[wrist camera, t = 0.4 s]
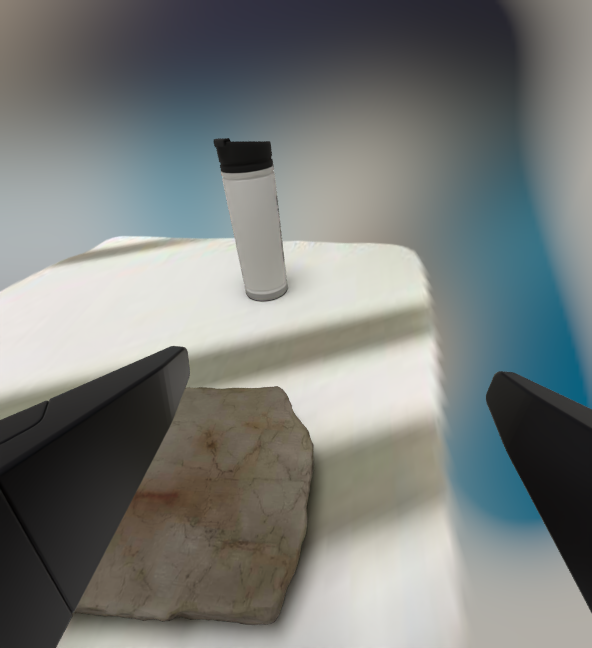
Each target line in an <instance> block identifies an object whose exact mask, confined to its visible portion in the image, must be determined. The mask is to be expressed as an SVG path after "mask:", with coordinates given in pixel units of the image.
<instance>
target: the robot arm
mask: <svg viewBox="0 0 592 648" xmlns="http://www.w3.org/2000/svg"><path fill="white" fill-rule="evenodd" d="M189 376H190V367H189V359H188V352H187V349H186V348H185V347H179V346H171V347H168V348H166V349H164V350H162V351H159V352H157V353H155V354H152V355H150V356H148V357H145V358H143V359H141V360H139V361H136V362H134V363H132V364H129V365H127V366H125V367H122V368H120V369H118V370H116V371H113V372H111V373H109V374H106V375H104V376H102V377H99V378H97V379H95V380H93V381H90V382H88V383H86V384H83V385H81V386H79V387H76V388H74V389H72V390H70V391H67V392H65V393H63V394H60V395H58V396H56V397H53V398H51V399H50V400H49V401H44V402H42V403H39V404H37V405H35V406H33V407H30V408H28V409H26V410H23V411H21V412H18V413H16V414H14V415H11V416H9V417H7V418H4V419H2V420H0V648H56V647H57V645H58V643H59V641H60V639H61V637H62V635H63V633H64V631H65V629H66V627H67V626H68V624H69V622H70V620H71V618H72V613H73V612H74V611H75V610H76V608H77V606H78V604H79V602H80V600H81V598H82V596H83V594H84V592H85V590H86V588H87V586H88V584H89V582H90V580H91V579H92V577H93V575H94V573H95V571H96V569H97V567H98V565H99V563H100V561H101V559H102V557H103V555H104V553H105V551H106V550H107V548H108V546H109V544H110V542H111V540H112V538H113V536H114V534H115V532H116V530H117V528H118V526H119V524H120V522H121V521H122V519H123V517H124V515H125V513H126V511H127V509H128V507H129V505H130V503H131V501H132V499H133V497H134V495H135V493H136V492H137V490H138V488H139V486H140V484H141V482H142V480H143V478H144V476H145V474H146V472H147V470H148V468H149V466H150V464H151V462H152V461H153V459H154V457H155V455H156V453H157V451H158V449H159V447H160V445H161V443H162V441H163V439H164V437H165V435H166V433H167V432H168V430H169V428H170V425H171V423H172V421H173V419H174V416H175V414H176V411H177V409H178V406H179V403H180V401H181V398H182V395H183V393H184V390H185V387H186V385H187V382H188V379H189ZM486 402H487V405H488V407H489V410H490V412H491V415H492V417H493V419H494V422H495V425H496V427H497V430H498V432H499V435H500V437H501V440H502V442H503V444H504V447H505V449H506V451H507V453H508V455H509V457H510V459H511V461H512V463H513V465H514V467H515V469H516V471H517V472H518V474H519V476H520V478H521V480H522V482H523V484H524V486H525V488H526V489H527V491H528V493H529V495H530V497H531V499H532V501H533V503H534V504H535V506H536V508H537V510H538V512H539V514H540V516H541V518H542V520H543V522H544V524H545V525H546V527H547V529H548V531H549V533H550V535H551V537H552V539H553V541H554V543H555V544H556V546H557V548H558V550H559V552H560V554H561V556H562V558H563V559H564V561H565V563H566V565H567V567H568V569H569V571H570V573H571V575H572V577H573V579H574V580H575V582H576V584H577V586H578V588H579V590H580V592H581V594H582V596H583V597H584V599H585V601H586V603H587V605H588V607H589V609H590V611H591V613H592V409H590V408H587V407H585V406H583V405H581V404H579V403H577V402H575V401H573V400H570V399H568V398H566V397H564V396H562V395H560V394H558V393H556V392H554V391H552V390H550V389H547V388H545V387H543V386H541V385H539V384H537V383H534V382H533V381H530V380H528V379H526V378H524V377H522V376H520V375H518V374H516V373H513V372H502V371H501V372H497V373H496V374H495V375H494V377H493V380H492V382H491V384H490V387H489V389H488V391H487V394H486Z"/></svg>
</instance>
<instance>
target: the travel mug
mask: <svg viewBox="0 0 592 648" xmlns="http://www.w3.org/2000/svg"><path fill="white" fill-rule="evenodd" d="M214 146H215V147H216V149H217V154H218V158H219V162H220V163H221V165H220V168H221V175H222V176H223V185H224V189H225V194H226V199H227V204H228V209H229V213H230V218H231V223H232V228H233V233H234V237H235V242H236V247H237V252H238V257H239V261H240V266H241V271H242V276H243V280H244V284H245V290H246V294H247V295H248V296H249V297H250V298H251V299H254V300H259V301H267V300H272V299H276V298H278V297H280V296H282V295H283V294H284V293H285V292H286V290H287V279H286V270H285V261H284V252H283V243H282V235H281V226H280V217H279V209H278V200H277V191H276V182H275V174H274V172H273V170H274V166H273V161H272V159H271V156H272V152H271V144H270V142H269V141H266V142H231V141H230V139H229V138H227V139H214Z"/></svg>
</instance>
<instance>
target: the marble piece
mask: <svg viewBox="0 0 592 648" xmlns="http://www.w3.org/2000/svg"><path fill="white" fill-rule="evenodd" d="M313 470H314V464H313V443H312V441H311V439H310V435H309V431H308V430H307V428H306V427H305V426H304V425H303V424H302V422H301V421H300V420H299V419H298V417H297V416H296V415H295V413H294V412H293V409H292V405H291V403H290V401H289V398H288V396H287V394H286V393H285V392H284V390H283V389H281V388H280V387H278V386H275V387H263V388H227V389H215V388H203V387H199V388H190V387H189V388H185V390H184V393H183V395H182V398H181V401H180V403H179V406H178V409H177V411H176V414H175V416H174V419H173V421H172V423H171V425H170V428H169V430H168V432H167V433H166V435H165V437H164V439H163V441H162V443H161V445H160V447H159V449H158V451H157V453H156V455H155V457H154V459H153V461H152V462H151V464H150V466H149V468H148V470H147V472H146V474H145V476H144V478H143V480H142V482H141V484H140V486H139V488H138V490H137V492H136V493H135V495H134V497H133V499H132V501H131V503H130V505H129V507H128V509H127V511H126V513H125V515H124V517H123V519H122V521H121V522H120V524H119V526H118V528H117V530H116V532H115V534H114V536H113V538H112V540H111V542H110V544H109V546H108V548H107V550H106V551H105V553H104V555H103V557H102V559H101V561H100V563H99V565H98V567H97V569H96V571H95V573H94V575H93V577H92V579H91V580H90V582H89V584H88V586H87V588H86V590H85V592H84V594H83V596H82V598H81V600H80V602H79V604H78V606H77V608H76V610H75V611H74V612H78V613H84V614H94V615H102V616H120V617H124V618H135V619H140V620H143V621H144V620H148V619H151V620H152V619H158V620H160V621H170V620H171V619H173V618H175V617H176V616H178V617H182V618H187V619H206V620H212V619H213V620H217V621H227V622H237V623H241V624H248V625H257V624H269V623H273V622H275V621H276V619H277V617H278V616H279V614H280V611H281V608H282V605H283V601H284V598H285V594H286V591H287V588H288V586H289V583H290V581H291V579H292V577H293V575H294V572H295V570H296V568H297V565H298V561H299V557H300V553H301V544H302V542H303V540H304V538H305V536H306V530H307V520H308V519H307V511H306V509H307V503H308V497H309V492H310V482H311V478H312V475H313Z"/></svg>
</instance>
